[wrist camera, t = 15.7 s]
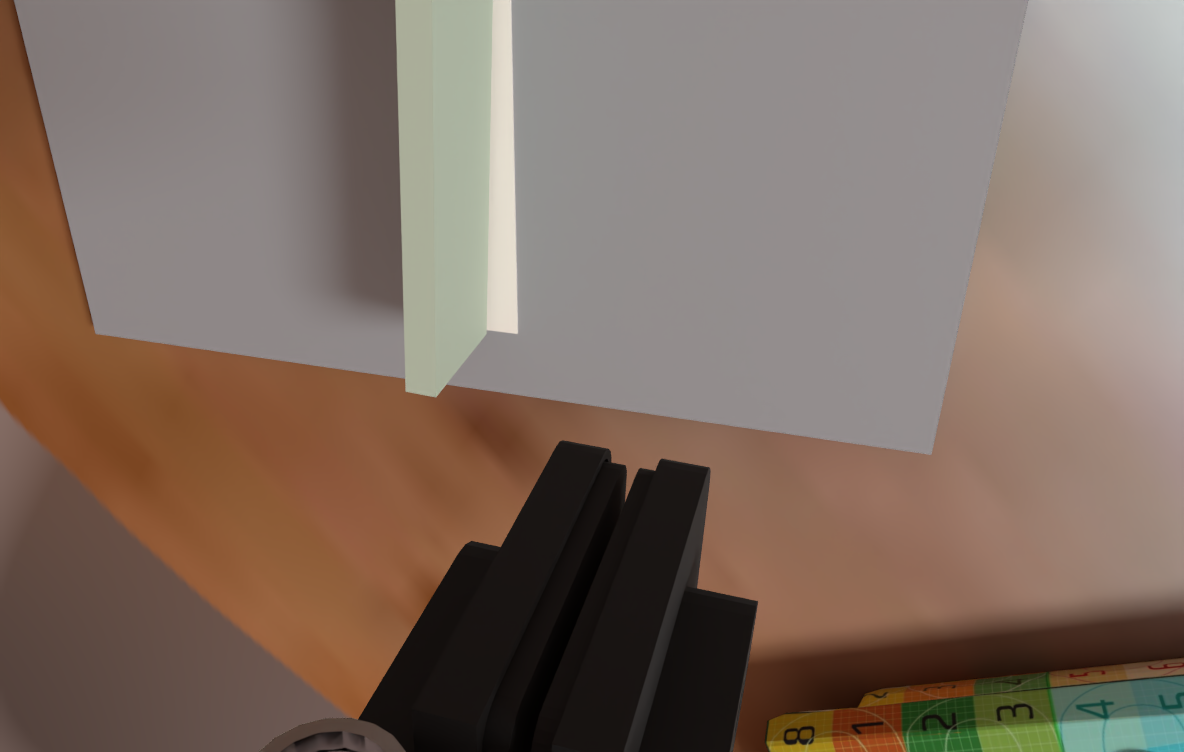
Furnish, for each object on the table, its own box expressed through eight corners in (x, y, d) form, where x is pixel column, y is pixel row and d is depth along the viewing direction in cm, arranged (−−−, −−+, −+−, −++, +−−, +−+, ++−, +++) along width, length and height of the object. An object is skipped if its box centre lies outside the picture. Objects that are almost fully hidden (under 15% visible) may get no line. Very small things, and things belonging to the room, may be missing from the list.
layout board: (-74, -422, 29) (-280, -478, 24) (1124, -472, 22) (1196, -565, 17) (105, 327, 40) (-8, 398, 35) (930, 445, 34) (938, 554, 28)
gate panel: (494, -113, 28) (431, -104, 24) (486, 334, 35) (435, 397, 31) (461, -116, 28) (392, -108, 24) (459, 329, 35) (405, 391, 31)
